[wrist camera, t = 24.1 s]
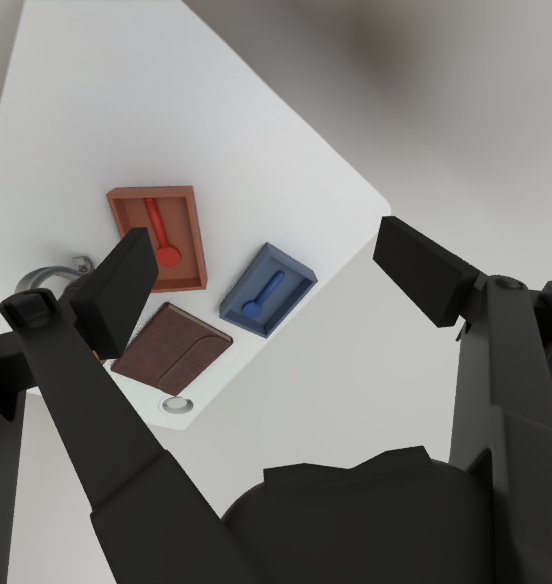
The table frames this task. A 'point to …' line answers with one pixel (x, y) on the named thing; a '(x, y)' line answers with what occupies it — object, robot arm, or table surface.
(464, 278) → the robot arm
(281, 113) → the table surface
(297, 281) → the blue bin
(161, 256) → the red spoon
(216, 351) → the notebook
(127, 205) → the red bin
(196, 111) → the table surface
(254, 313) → the blue spoon
